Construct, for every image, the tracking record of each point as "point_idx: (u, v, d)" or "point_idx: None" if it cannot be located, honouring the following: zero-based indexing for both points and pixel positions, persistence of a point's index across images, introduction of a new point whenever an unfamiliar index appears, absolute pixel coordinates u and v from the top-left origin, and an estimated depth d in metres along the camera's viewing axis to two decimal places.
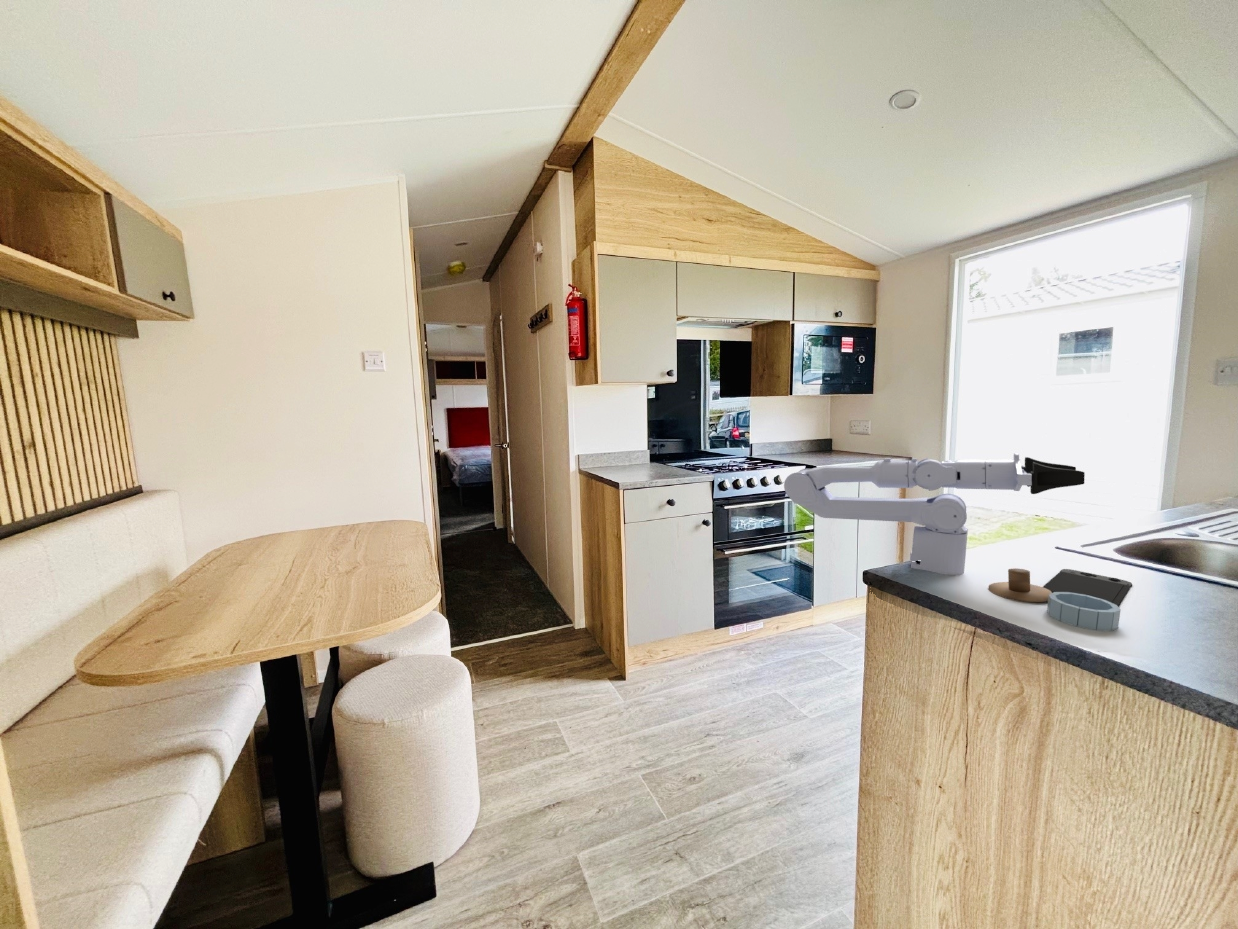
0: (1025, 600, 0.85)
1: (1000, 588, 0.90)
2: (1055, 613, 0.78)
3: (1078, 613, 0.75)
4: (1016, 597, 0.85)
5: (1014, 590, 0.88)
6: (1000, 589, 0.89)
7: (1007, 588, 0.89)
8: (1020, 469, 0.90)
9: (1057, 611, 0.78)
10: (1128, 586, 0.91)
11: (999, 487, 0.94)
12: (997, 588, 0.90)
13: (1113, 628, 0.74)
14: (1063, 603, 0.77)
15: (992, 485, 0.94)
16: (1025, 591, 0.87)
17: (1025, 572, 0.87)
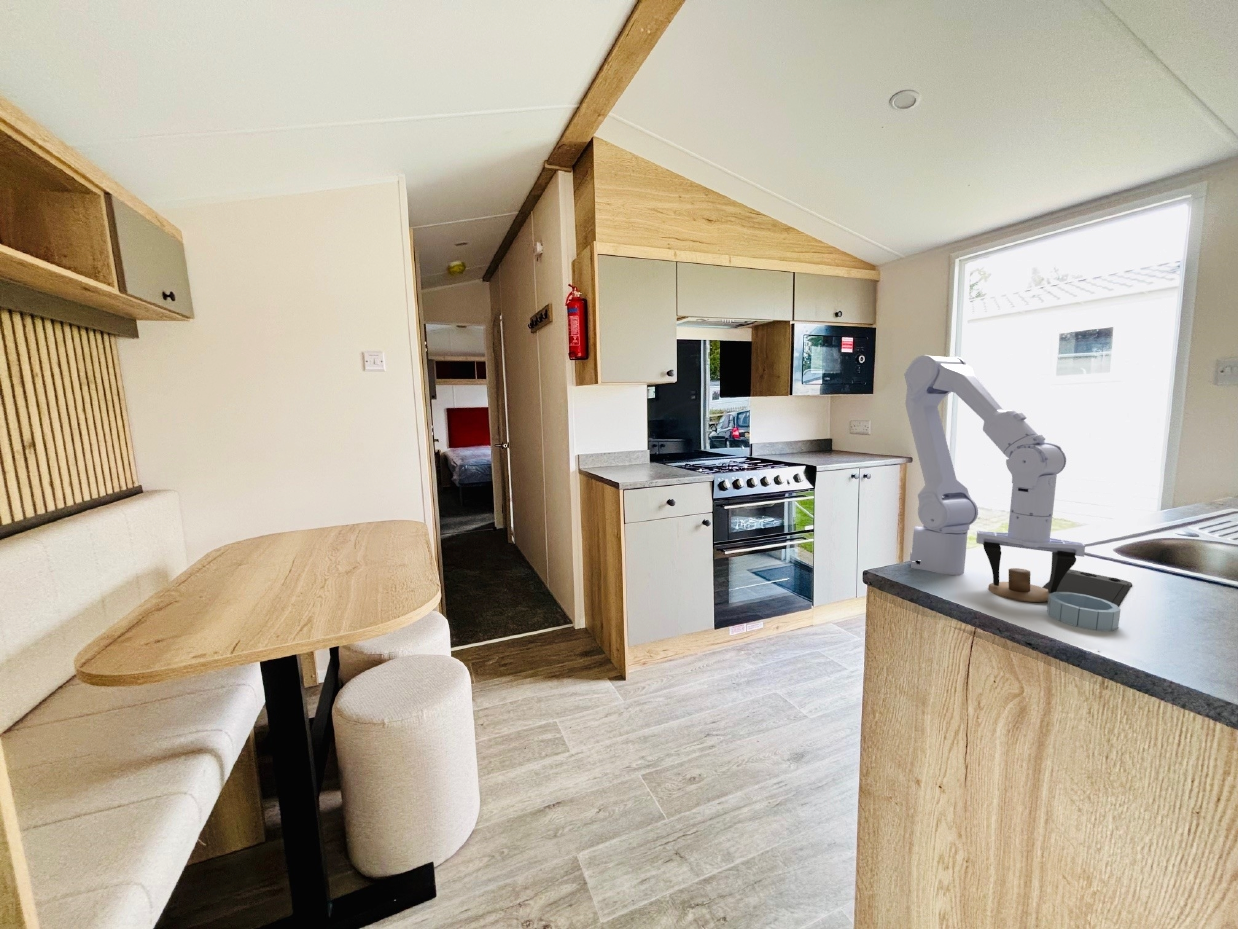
0: (1025, 600, 0.85)
1: (1000, 587, 0.90)
2: (1055, 613, 0.78)
3: (1078, 613, 0.75)
4: (1016, 596, 0.85)
5: (1014, 590, 0.88)
6: (1000, 588, 0.89)
7: (1007, 588, 0.89)
8: (995, 538, 0.88)
9: (1057, 611, 0.78)
10: (1128, 586, 0.91)
11: None
12: (997, 587, 0.90)
13: (1113, 628, 0.74)
14: (1063, 603, 0.77)
15: None
16: (1025, 591, 0.87)
17: (1025, 572, 0.87)
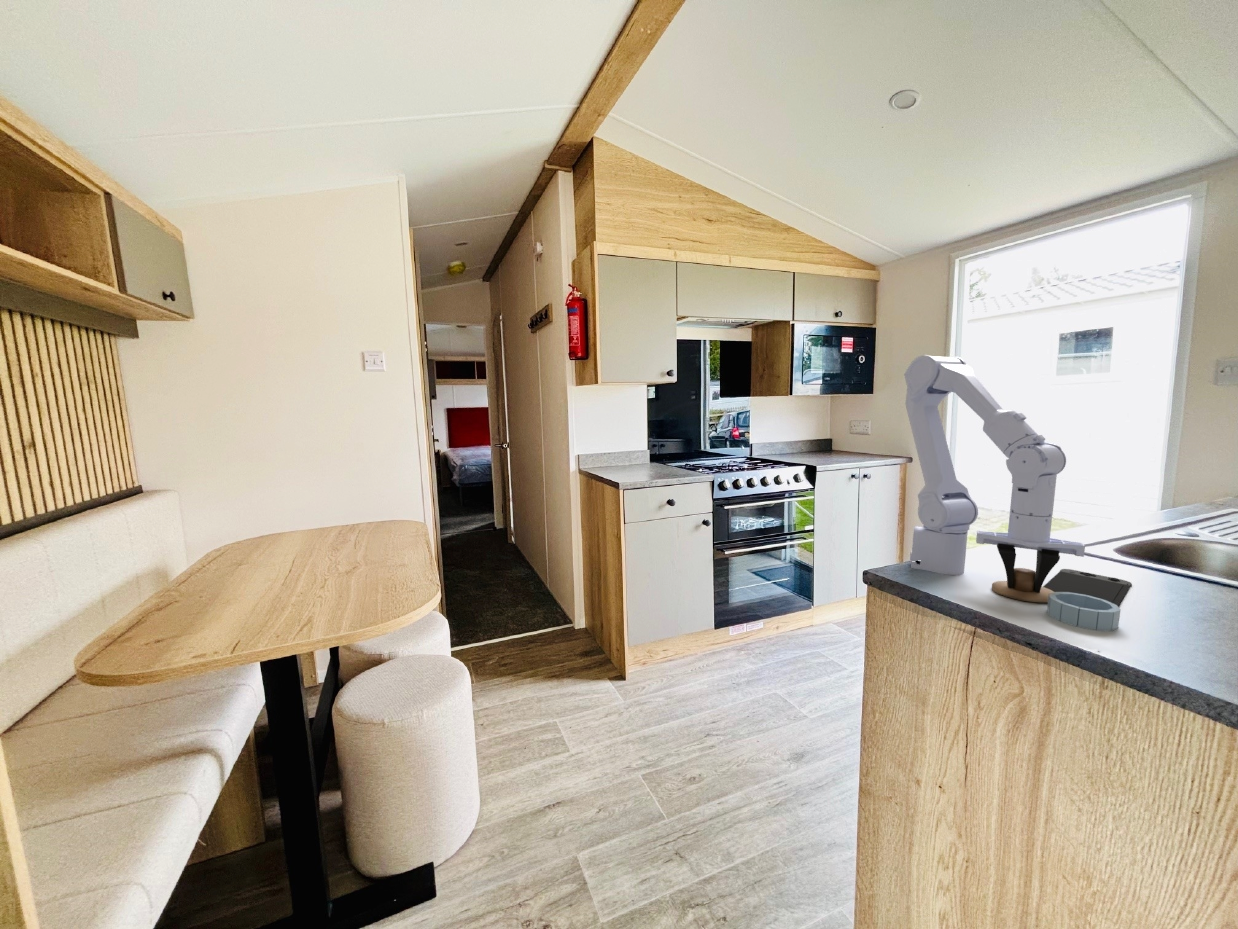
0: (1029, 600, 0.84)
1: (1004, 587, 0.89)
2: (1055, 613, 0.78)
3: (1078, 613, 0.75)
4: (1020, 596, 0.85)
5: (1018, 589, 0.87)
6: (1004, 588, 0.89)
7: None
8: (994, 539, 0.88)
9: (1057, 611, 0.78)
10: (1128, 586, 0.91)
11: None
12: (1001, 587, 0.89)
13: (1113, 628, 0.74)
14: (1063, 603, 0.77)
15: None
16: (1029, 591, 0.87)
17: (1031, 572, 0.87)
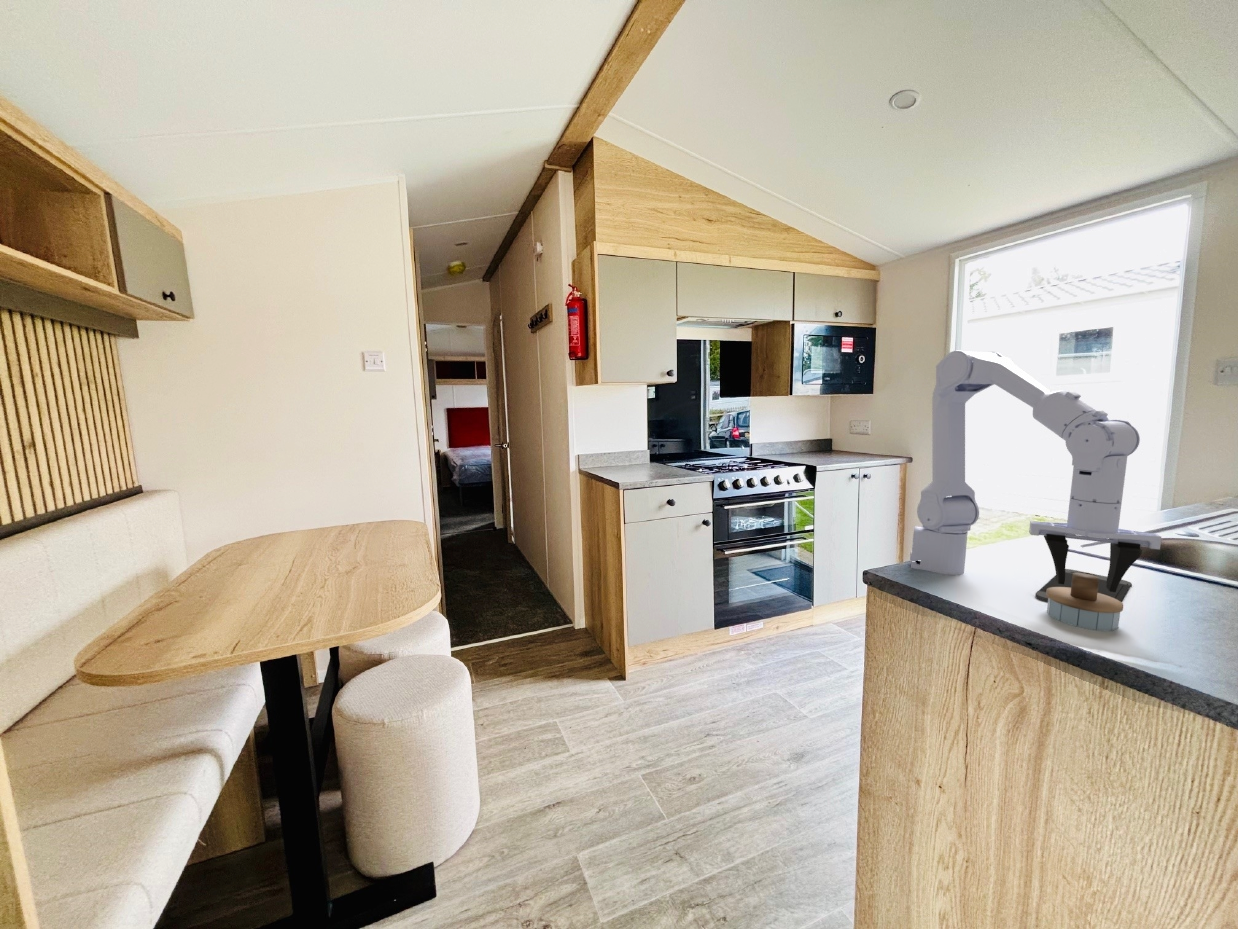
0: (1095, 610, 0.74)
1: (1061, 594, 0.79)
2: (1055, 613, 0.78)
3: (1078, 613, 0.75)
4: (1084, 606, 0.74)
5: (1079, 597, 0.77)
6: (1061, 595, 0.78)
7: (1069, 594, 0.79)
8: (1052, 529, 0.78)
9: (1057, 611, 0.78)
10: (1128, 586, 0.91)
11: None
12: (1057, 594, 0.79)
13: (1113, 628, 0.74)
14: None
15: None
16: (1092, 599, 0.76)
17: (1094, 578, 0.76)
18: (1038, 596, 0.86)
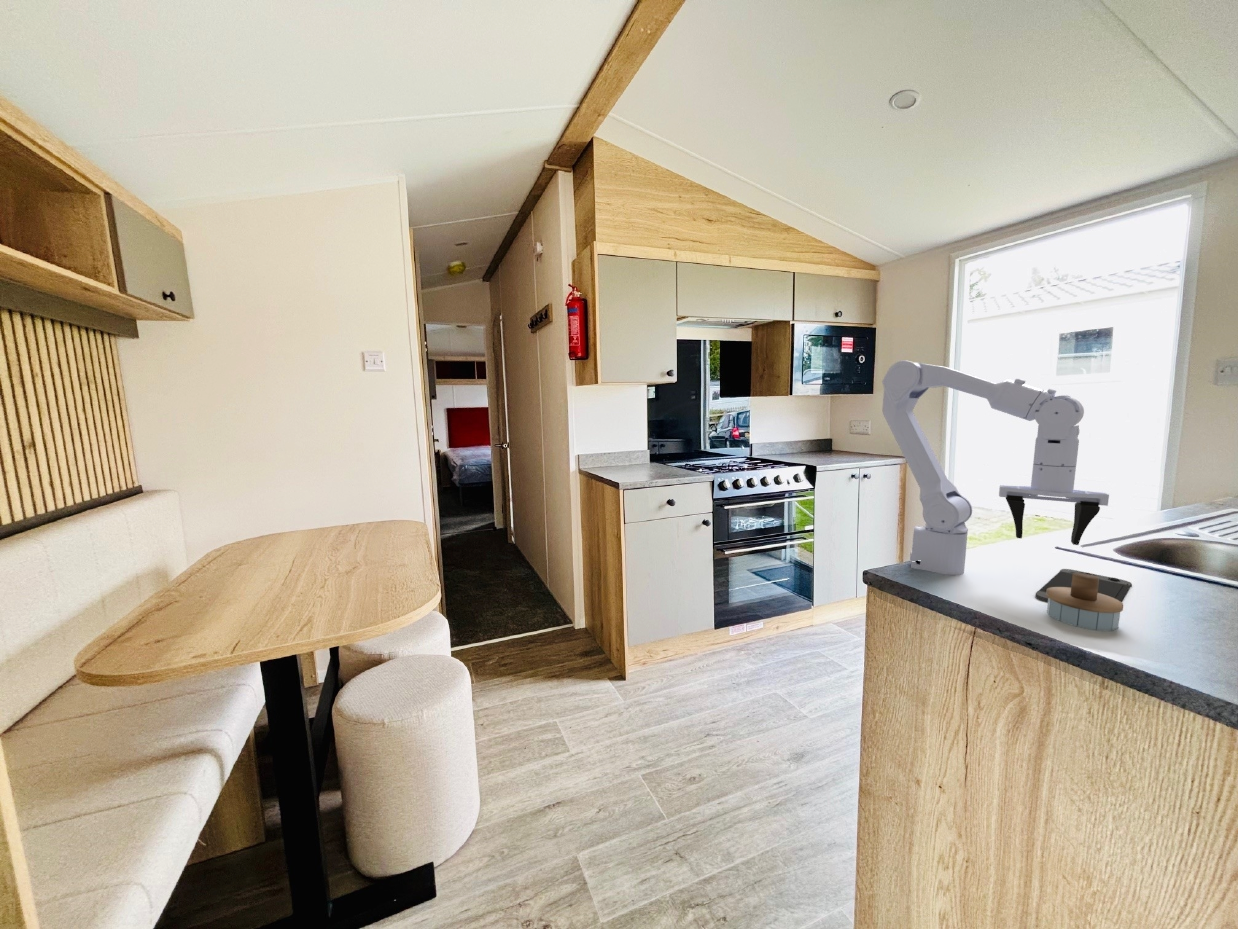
0: (1095, 610, 0.74)
1: (1061, 594, 0.79)
2: (1055, 613, 0.78)
3: (1078, 613, 0.75)
4: (1084, 606, 0.74)
5: (1079, 597, 0.77)
6: (1061, 595, 0.78)
7: (1069, 594, 0.79)
8: (1018, 491, 0.90)
9: (1057, 611, 0.78)
10: (1128, 586, 0.91)
11: None
12: (1057, 594, 0.79)
13: (1113, 628, 0.74)
14: None
15: None
16: (1092, 599, 0.76)
17: (1094, 578, 0.76)
18: (1038, 596, 0.86)
